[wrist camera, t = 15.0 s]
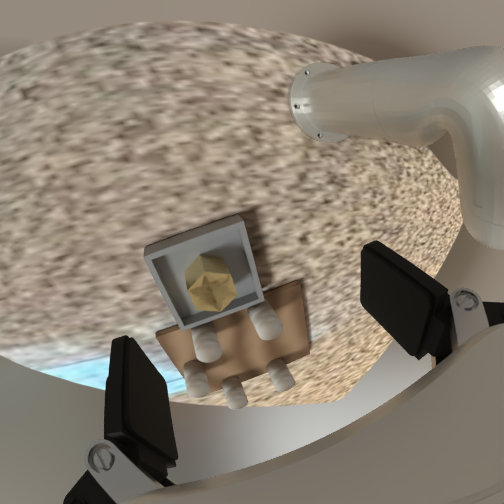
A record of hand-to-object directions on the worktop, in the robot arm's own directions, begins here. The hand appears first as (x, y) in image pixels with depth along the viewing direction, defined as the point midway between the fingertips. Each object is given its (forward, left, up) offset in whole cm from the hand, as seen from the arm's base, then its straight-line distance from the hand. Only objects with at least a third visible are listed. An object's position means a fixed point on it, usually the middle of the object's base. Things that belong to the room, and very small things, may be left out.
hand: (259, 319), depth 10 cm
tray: (+2, +14, -28) cm, 32 cm away
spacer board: (+1, +32, -28) cm, 43 cm away
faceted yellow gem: (+2, +14, -27) cm, 31 cm away
